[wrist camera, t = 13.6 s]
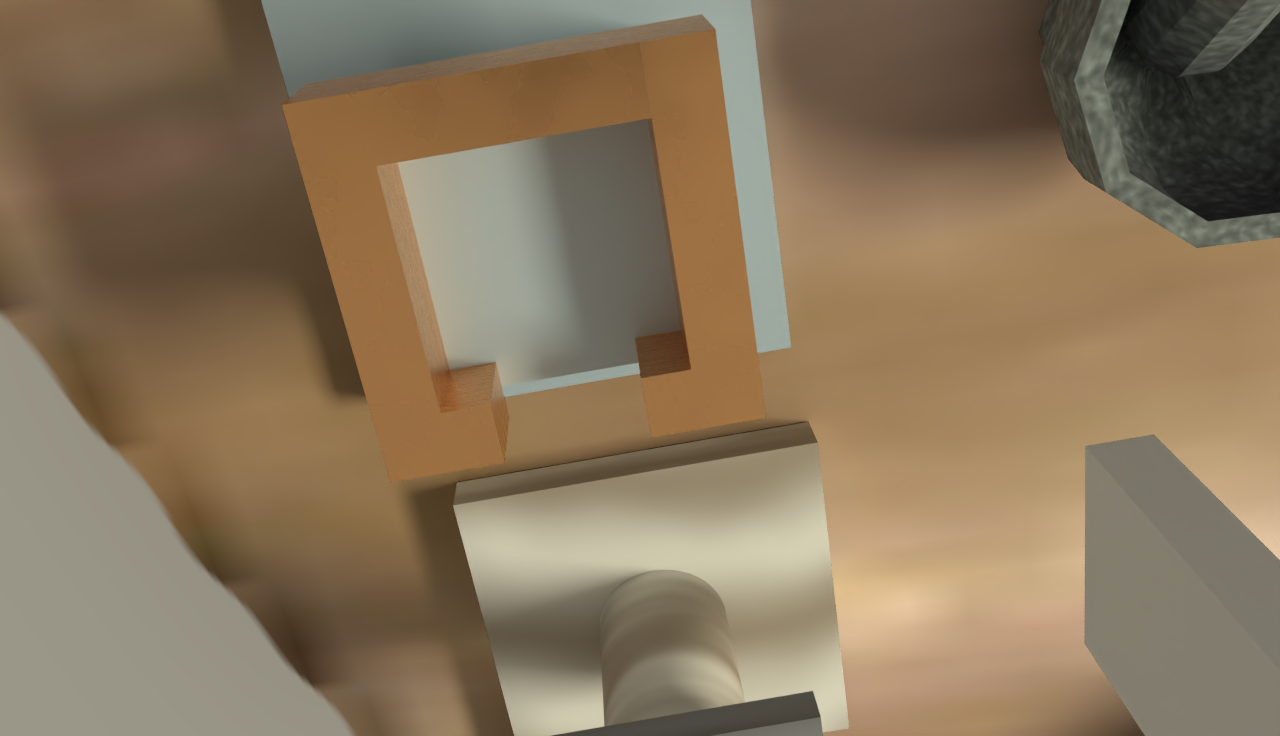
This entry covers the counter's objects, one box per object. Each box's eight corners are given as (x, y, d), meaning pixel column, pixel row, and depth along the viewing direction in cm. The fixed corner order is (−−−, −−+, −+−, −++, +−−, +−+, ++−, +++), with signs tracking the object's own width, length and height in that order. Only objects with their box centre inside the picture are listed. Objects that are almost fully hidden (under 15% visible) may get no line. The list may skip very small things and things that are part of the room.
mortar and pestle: (1329, 103, 35) (1675, 213, 24) (1039, 229, 36) (1245, 389, 25) (1255, -279, 31) (1638, -356, 20) (928, -122, 32) (1119, -113, 21)
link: (305, 83, 26) (281, 105, 24) (702, 14, 26) (715, 28, 24) (403, 435, 30) (390, 482, 28) (750, 375, 30) (765, 417, 28)
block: (270, -18, 32) (197, 12, 25) (731, -99, 32) (774, -89, 25) (387, 397, 37) (351, 509, 31) (782, 329, 37) (828, 426, 31)
